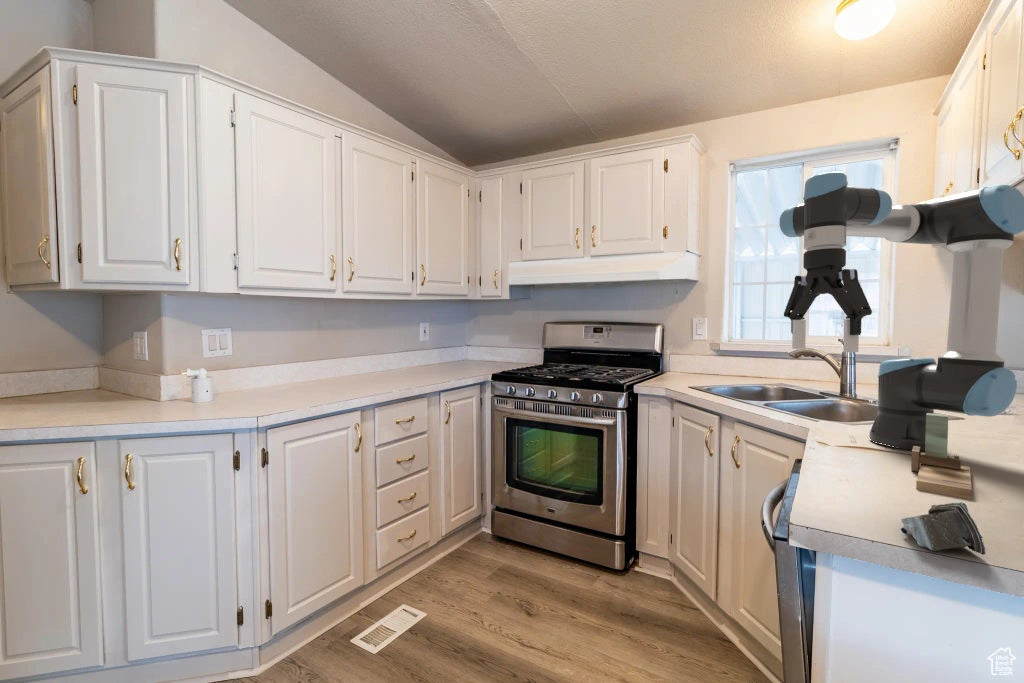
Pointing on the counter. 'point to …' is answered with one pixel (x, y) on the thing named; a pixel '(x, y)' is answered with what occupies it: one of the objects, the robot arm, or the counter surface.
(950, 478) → the oak board
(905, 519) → the chocolate cake
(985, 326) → the robot arm
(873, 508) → the counter surface
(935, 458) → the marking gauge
